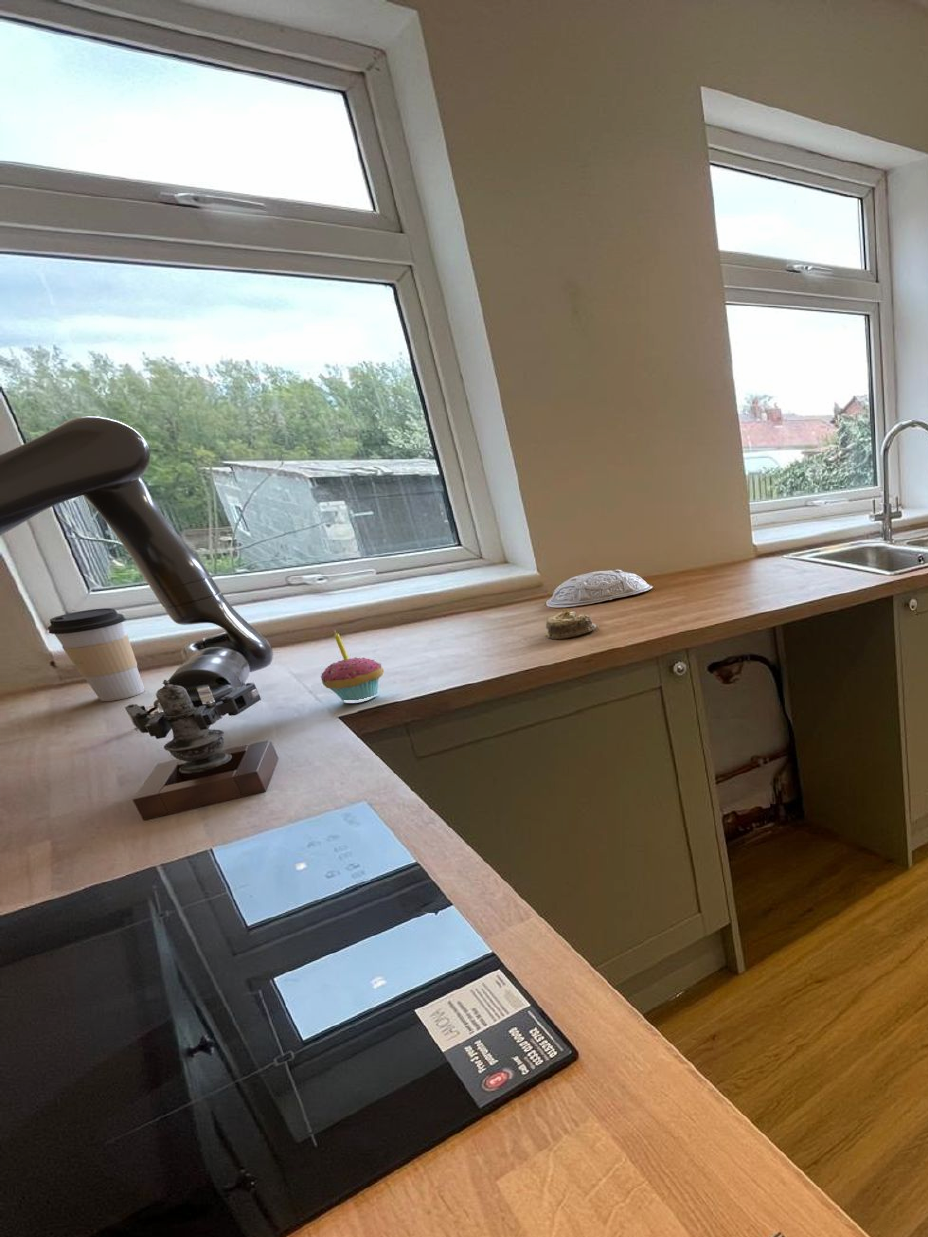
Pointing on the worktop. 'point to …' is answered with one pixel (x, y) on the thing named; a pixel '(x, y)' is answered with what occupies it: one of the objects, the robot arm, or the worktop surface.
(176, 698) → the grey stone finial
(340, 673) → the cupcake
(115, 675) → the coffee cup
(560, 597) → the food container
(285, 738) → the worktop surface
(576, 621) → the cake
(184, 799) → the brown rectangular frame
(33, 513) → the robot arm
